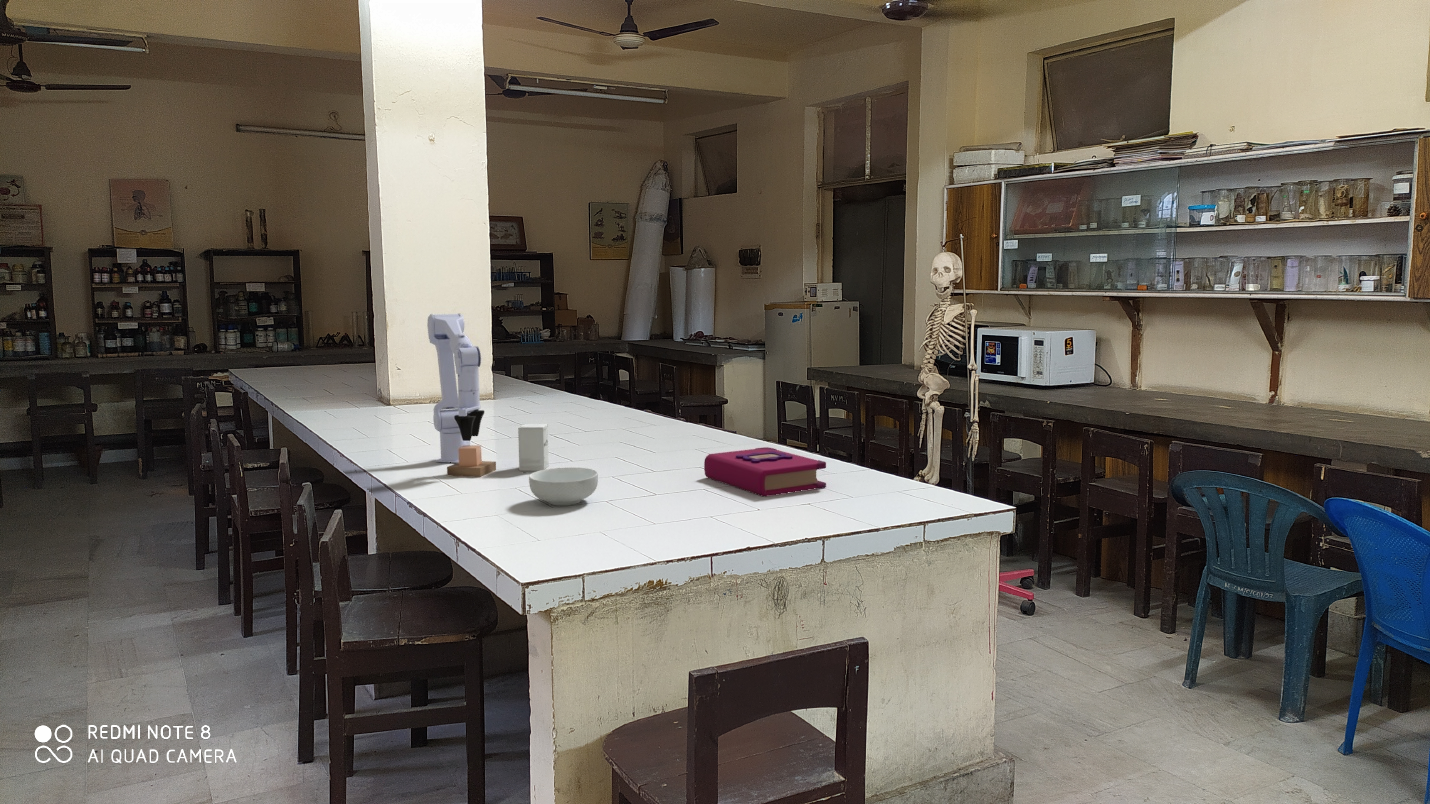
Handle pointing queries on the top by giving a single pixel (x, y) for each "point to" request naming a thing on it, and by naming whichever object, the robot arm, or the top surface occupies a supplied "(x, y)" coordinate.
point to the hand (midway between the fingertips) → (470, 438)
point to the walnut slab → (472, 469)
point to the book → (764, 470)
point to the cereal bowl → (563, 484)
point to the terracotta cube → (470, 455)
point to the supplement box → (533, 447)
